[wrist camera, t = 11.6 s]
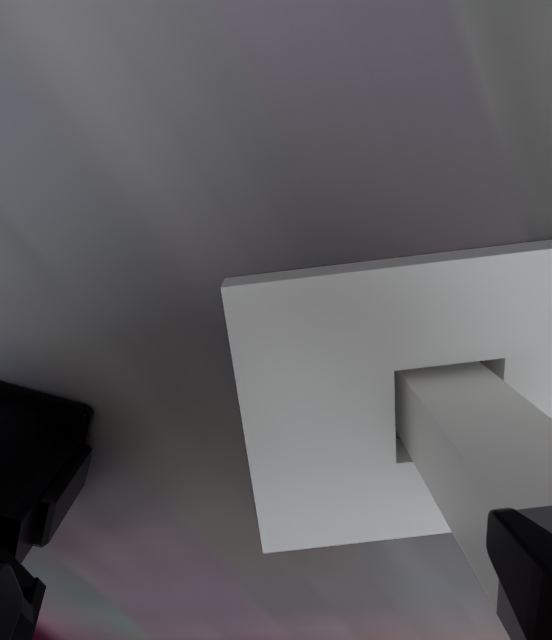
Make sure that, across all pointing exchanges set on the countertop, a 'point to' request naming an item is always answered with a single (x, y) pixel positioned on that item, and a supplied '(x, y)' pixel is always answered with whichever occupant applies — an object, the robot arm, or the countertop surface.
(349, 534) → the socket
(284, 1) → the countertop surface
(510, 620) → the plug
